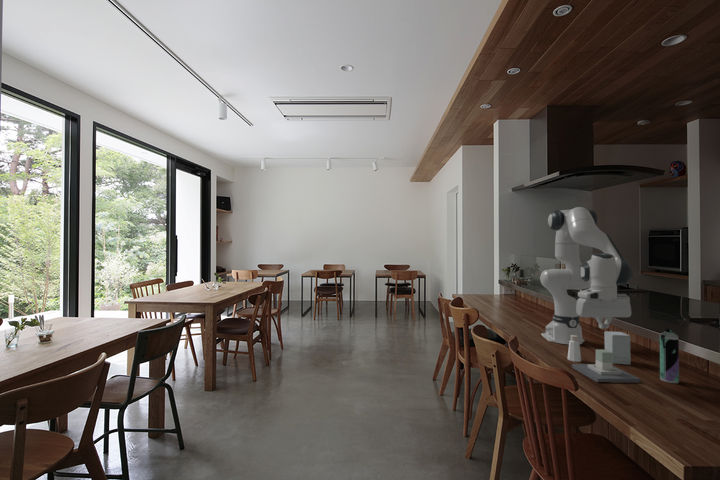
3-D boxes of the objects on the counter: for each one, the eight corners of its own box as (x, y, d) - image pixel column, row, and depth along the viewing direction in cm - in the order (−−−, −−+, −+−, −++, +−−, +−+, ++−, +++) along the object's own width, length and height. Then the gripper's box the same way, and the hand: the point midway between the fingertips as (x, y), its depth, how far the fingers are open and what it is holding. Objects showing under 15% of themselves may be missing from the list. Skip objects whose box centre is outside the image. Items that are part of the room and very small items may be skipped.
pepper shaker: (581, 362, 156) (581, 337, 156) (567, 360, 159) (567, 336, 159) (581, 359, 161) (581, 335, 161) (567, 357, 164) (567, 333, 164)
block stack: (595, 369, 144) (595, 349, 144) (605, 369, 144) (605, 349, 144) (602, 372, 140) (602, 352, 140) (612, 372, 140) (612, 352, 140)
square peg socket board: (572, 367, 150) (572, 361, 150) (609, 367, 150) (609, 361, 150) (597, 382, 134) (597, 375, 134) (639, 382, 134) (639, 375, 134)
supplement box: (631, 364, 153) (631, 335, 154) (612, 363, 155) (611, 334, 155) (622, 359, 161) (622, 331, 161) (604, 358, 162) (603, 330, 162)
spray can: (674, 384, 132) (674, 330, 132) (657, 379, 137) (656, 327, 137) (681, 381, 135) (681, 329, 135) (664, 376, 140) (663, 326, 140)
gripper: (623, 292, 145) (623, 326, 145) (573, 292, 145) (573, 326, 145) (635, 294, 139) (635, 330, 139) (583, 294, 139) (583, 330, 139)
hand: (603, 328), depth 142 cm, fingers closed
